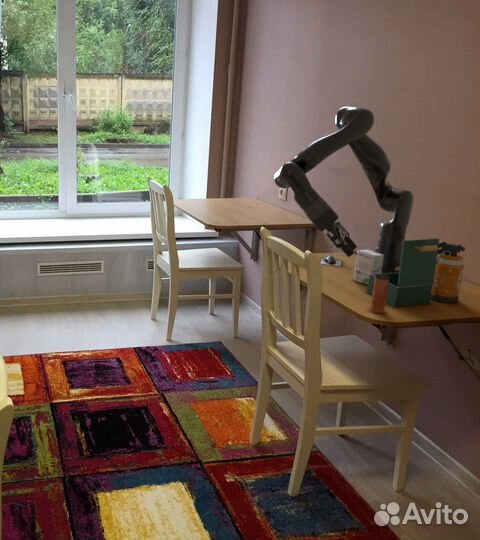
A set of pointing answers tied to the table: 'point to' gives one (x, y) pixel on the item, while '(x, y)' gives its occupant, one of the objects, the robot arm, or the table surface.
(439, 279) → the canister
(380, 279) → the jar
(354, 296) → the table surface
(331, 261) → the bomb figurine
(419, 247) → the lid
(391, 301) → the chest
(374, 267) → the ink box
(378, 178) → the robot arm
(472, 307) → the table surface
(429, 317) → the table surface
